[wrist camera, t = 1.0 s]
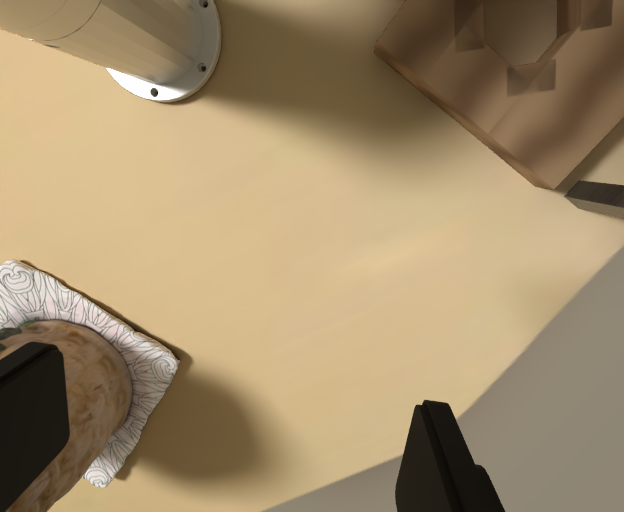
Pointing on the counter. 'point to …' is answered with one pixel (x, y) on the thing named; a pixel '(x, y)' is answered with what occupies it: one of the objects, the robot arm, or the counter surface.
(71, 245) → the counter surface
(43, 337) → the cookie jar
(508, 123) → the socket block
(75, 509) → the counter surface
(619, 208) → the small grey stool
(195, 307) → the counter surface
